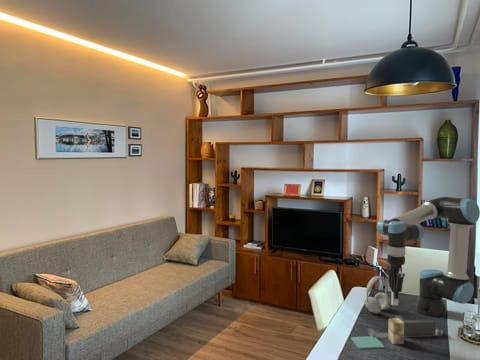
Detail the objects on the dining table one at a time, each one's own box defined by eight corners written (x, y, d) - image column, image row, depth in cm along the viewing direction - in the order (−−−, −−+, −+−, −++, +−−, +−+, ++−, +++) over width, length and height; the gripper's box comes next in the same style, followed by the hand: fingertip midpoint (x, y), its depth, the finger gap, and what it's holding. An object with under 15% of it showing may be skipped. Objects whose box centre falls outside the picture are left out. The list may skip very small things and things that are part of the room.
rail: (437, 331, 187) (437, 326, 187) (443, 335, 182) (443, 330, 182) (368, 333, 184) (368, 328, 184) (372, 338, 180) (372, 333, 180)
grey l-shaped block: (425, 325, 192) (425, 314, 191) (435, 334, 183) (435, 322, 182) (394, 327, 191) (394, 315, 190) (403, 335, 182) (404, 323, 181)
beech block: (398, 338, 179) (398, 318, 179) (403, 343, 174) (404, 322, 174) (388, 339, 179) (388, 318, 178) (393, 344, 174) (393, 323, 173)
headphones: (374, 318, 201) (374, 282, 200) (359, 313, 209) (360, 277, 207) (393, 310, 212) (394, 275, 211) (379, 305, 220) (379, 271, 218)
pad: (375, 337, 180) (375, 336, 180) (384, 347, 171) (384, 346, 171) (350, 338, 180) (350, 337, 180) (358, 349, 170) (358, 347, 170)
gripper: (382, 251, 182) (381, 299, 183) (394, 258, 169) (393, 310, 170) (397, 251, 182) (396, 299, 183) (411, 258, 169) (409, 310, 170)
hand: (394, 304), depth 177 cm, fingers closed
